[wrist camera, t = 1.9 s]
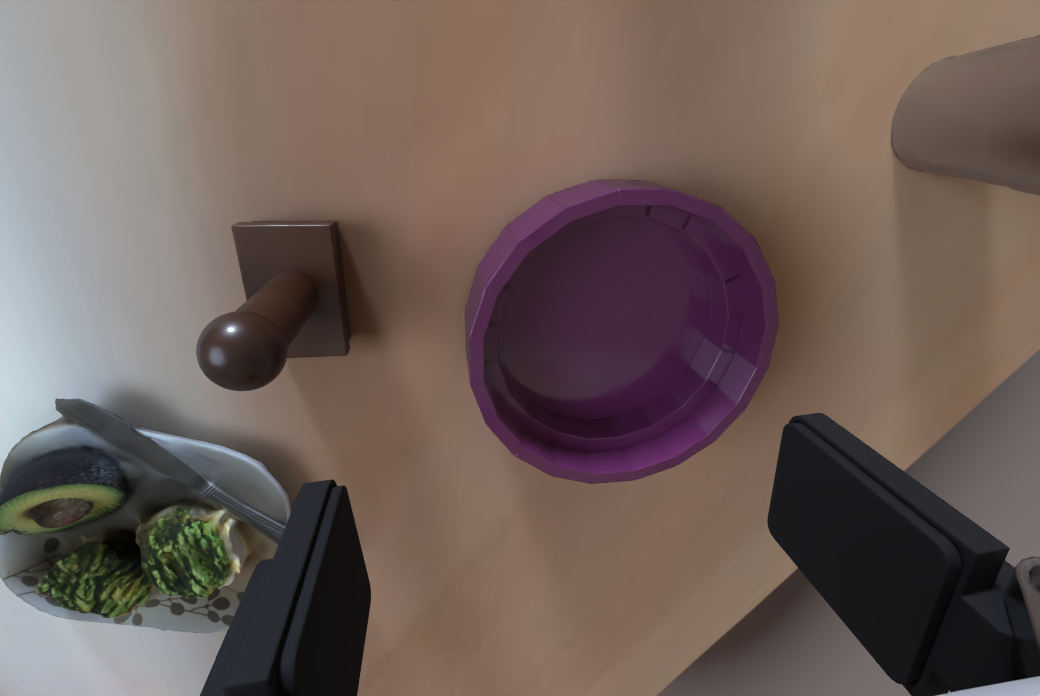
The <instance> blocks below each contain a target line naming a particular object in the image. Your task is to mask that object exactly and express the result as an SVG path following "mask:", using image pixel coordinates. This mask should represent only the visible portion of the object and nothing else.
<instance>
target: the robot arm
mask: <svg viewBox="0 0 1040 696" xmlns="http://www.w3.org/2000/svg"><path fill="white" fill-rule="evenodd" d="M768 527H769V531H770V533H771V535H772V536H773V538H774V539H775V540H776V541H777V543H778V544H779V545H780V546H781V547H782V549H783V550H784V551H785V552H786V553H787V555H788V556H789V557H790V558H791V559H792V561H793V562H794V563H795V564H796V565H797V567H798V568H799V569H800V570H801V571H802V573H803V574H804V575H805V576H806V577H807V579H808V580H809V581H810V582H811V584H812V585H813V586H814V587H815V588H816V590H817V591H818V592H819V593H820V594H821V595H822V596H823V598H824V599H825V600H826V601H827V603H828V604H829V605H830V606H831V608H832V609H833V610H834V611H835V612H836V614H837V615H838V616H839V617H840V618H841V620H842V621H843V622H844V623H845V624H846V626H847V627H848V628H849V629H850V630H851V632H852V633H853V634H854V635H855V636H856V638H857V639H858V640H859V641H860V642H861V644H862V645H863V646H864V647H865V648H866V650H867V651H868V652H869V653H870V655H871V656H872V657H873V658H874V659H875V661H876V662H877V663H878V664H879V665H880V667H881V668H882V669H883V670H884V671H885V673H886V674H887V675H888V676H889V677H890V678H891V679H892V680H893V681H895V682H896V683H899V684H902V685H903V686H904V687H905V688H906V689H907V691H908V692H909V693H910V694H911V695H912V696H1040V557H1030V558H1026V559H1023V560H1021V561H1020V562H1019V563H1018V564H1017V565H1016V567H1015V568H1014V567H1013V566H1012V565H1010V564H1009V563H1008V562H1006V561H1005V558H1006V556H1007V553H1008V551H1009V549H1010V548H1009V547H1007V546H1006V545H1005V544H1003V543H1002V542H1001V541H999V540H998V539H996V538H995V537H994V536H992V535H991V534H989V533H988V532H987V531H985V530H984V529H983V528H981V527H980V526H978V525H977V524H975V523H974V522H973V521H971V520H970V519H969V518H967V517H966V516H965V515H963V514H962V513H960V512H959V511H958V510H956V509H955V508H953V507H952V506H950V505H949V504H948V503H946V502H945V501H944V500H942V499H941V498H939V497H938V496H937V495H935V494H934V493H933V492H931V491H930V490H929V489H927V488H926V487H924V486H923V485H922V484H920V483H919V482H917V481H916V480H915V479H913V478H912V477H911V476H909V475H908V474H906V473H905V472H904V471H902V470H901V469H900V468H898V467H897V466H895V465H894V464H893V463H891V462H890V461H889V460H887V459H886V458H884V457H883V456H882V455H880V454H879V453H877V452H876V451H875V450H873V449H872V448H871V447H869V446H868V445H866V444H865V443H864V442H862V441H861V440H860V439H858V438H857V437H855V436H854V435H853V434H851V433H850V432H848V431H847V430H846V429H844V428H843V427H842V426H840V425H839V424H837V423H836V422H835V421H833V420H832V419H830V418H829V417H828V416H826V415H824V414H822V413H814V414H807V415H800V416H795V417H792V418H791V420H790V421H789V424H787V425H785V427H784V429H783V433H782V438H781V444H780V450H779V456H778V462H777V467H776V473H775V479H774V485H773V490H772V496H771V502H770V508H769V514H768ZM370 603H371V589H370V582H369V578H368V574H367V570H366V566H365V562H364V557H363V553H362V549H361V545H360V541H359V537H358V533H357V529H356V525H355V520H354V516H353V512H352V508H351V504H350V500H349V496H348V492H347V488H346V487H345V486H337V484H336V482H335V481H334V480H326V481H319V482H311V483H305V484H303V485H302V486H301V488H300V491H299V493H298V496H297V498H296V501H295V504H294V506H293V509H292V511H291V514H290V516H289V519H288V521H287V524H286V526H285V529H284V532H283V534H282V537H281V539H280V542H279V544H278V547H277V549H276V552H275V554H274V557H273V558H272V559H266V560H261V561H260V562H259V563H258V564H257V565H256V567H255V569H254V570H253V573H252V575H251V577H250V580H249V582H248V584H247V587H246V589H245V591H244V594H243V596H242V598H241V601H240V603H239V605H238V608H237V610H236V612H235V615H234V617H233V619H232V622H231V624H230V626H229V629H228V631H227V633H226V636H225V638H224V641H223V643H222V645H221V648H220V650H219V652H218V655H217V657H216V659H215V662H214V664H213V666H212V669H211V671H210V673H209V676H208V678H207V680H206V683H205V685H204V687H203V690H202V692H201V694H200V696H357V692H358V685H359V678H360V672H361V665H362V658H363V651H364V644H365V637H366V631H367V624H368V617H369V610H370ZM949 690H950V691H951V692H950V693H948V691H949Z"/></svg>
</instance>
